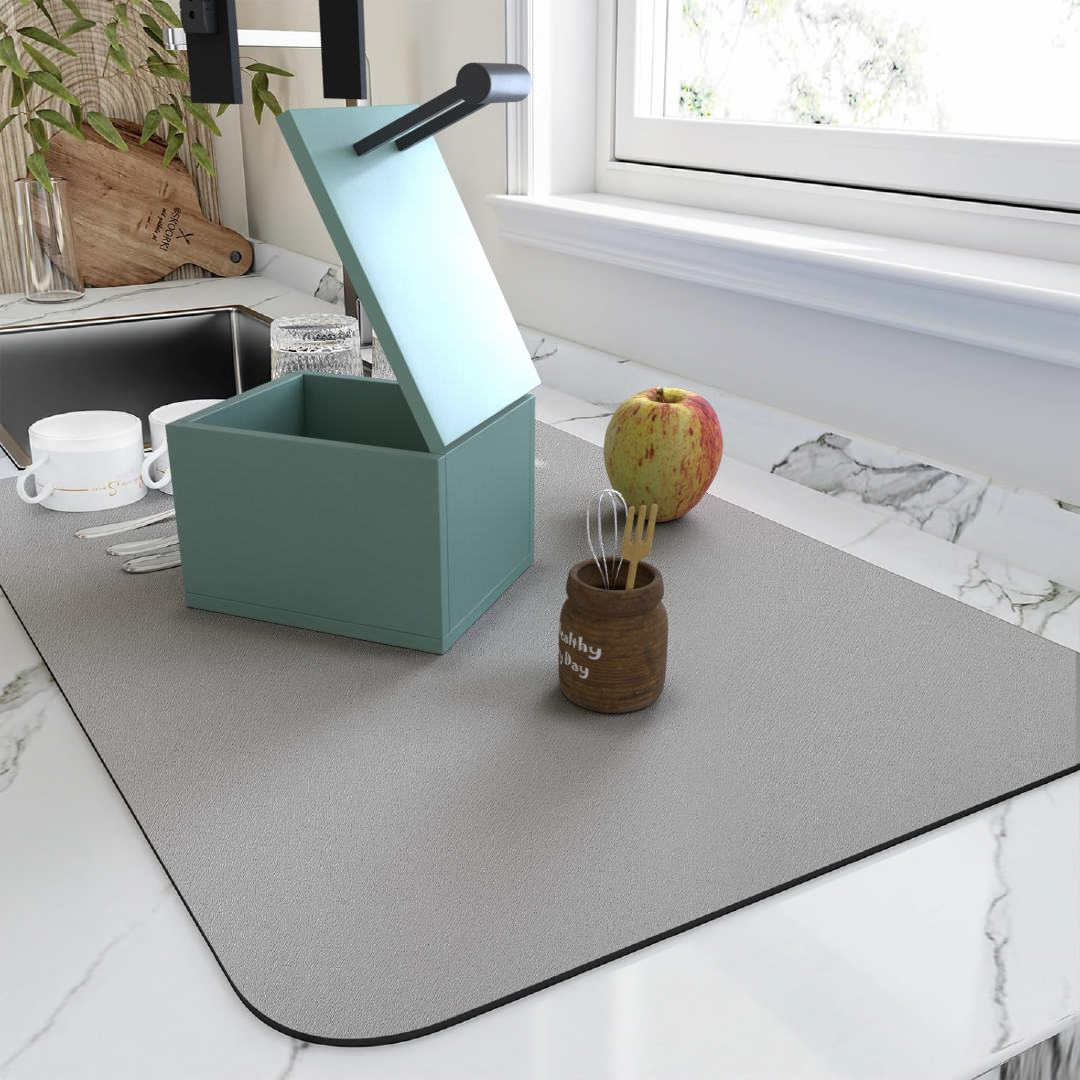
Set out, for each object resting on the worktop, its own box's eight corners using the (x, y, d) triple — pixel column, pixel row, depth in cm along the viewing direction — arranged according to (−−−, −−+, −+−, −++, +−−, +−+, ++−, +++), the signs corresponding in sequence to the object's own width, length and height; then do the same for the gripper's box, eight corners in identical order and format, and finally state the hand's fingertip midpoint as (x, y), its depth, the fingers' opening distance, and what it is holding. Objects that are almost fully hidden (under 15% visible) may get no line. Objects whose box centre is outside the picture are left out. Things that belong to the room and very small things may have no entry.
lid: (274, 117, 59) (429, 22, 55) (406, 110, 72) (541, 33, 68) (430, 453, 63) (588, 390, 59) (529, 388, 76) (664, 333, 72)
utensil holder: (639, 657, 68) (648, 462, 63) (685, 710, 62) (698, 499, 57) (543, 672, 66) (545, 471, 61) (581, 727, 60) (587, 511, 56)
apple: (735, 530, 87) (745, 400, 83) (620, 539, 85) (625, 407, 81) (693, 490, 95) (700, 370, 91) (587, 498, 93) (590, 376, 89)
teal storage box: (185, 606, 73) (164, 424, 69) (309, 526, 86) (298, 369, 82) (442, 655, 68) (438, 459, 63) (534, 562, 81) (535, 394, 76)
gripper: (165, -449, 47) (212, 108, 55) (431, -284, 69) (437, 98, 77) (19, -427, 49) (85, 103, 57) (321, -274, 71) (338, 96, 79)
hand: (287, 102), depth 67 cm, fingers open, 13 cm apart
